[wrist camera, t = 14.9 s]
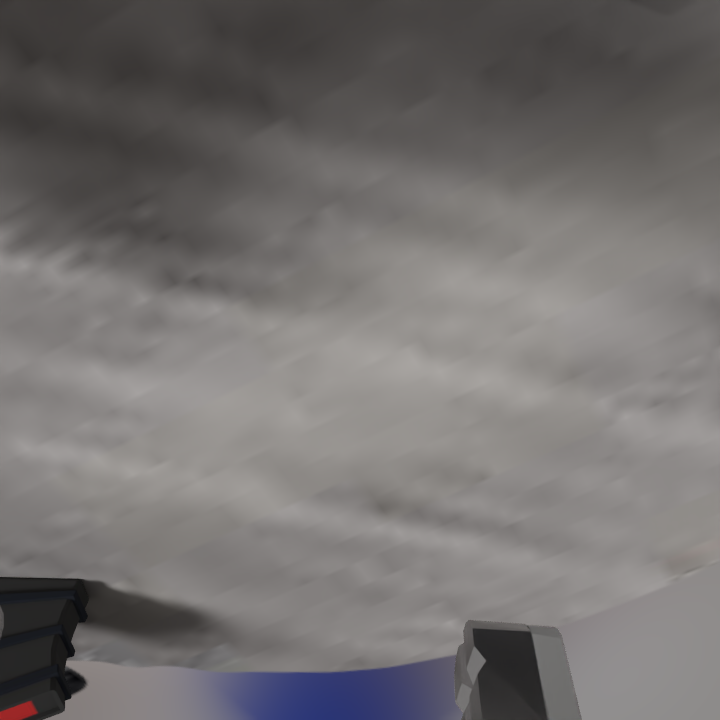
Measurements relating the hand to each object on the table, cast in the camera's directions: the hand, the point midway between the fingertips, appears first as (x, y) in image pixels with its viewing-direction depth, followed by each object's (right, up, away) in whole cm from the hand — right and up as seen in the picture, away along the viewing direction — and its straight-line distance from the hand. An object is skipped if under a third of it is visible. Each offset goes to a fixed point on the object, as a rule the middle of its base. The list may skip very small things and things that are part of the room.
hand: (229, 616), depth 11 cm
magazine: (-28, -17, +48) cm, 58 cm away
